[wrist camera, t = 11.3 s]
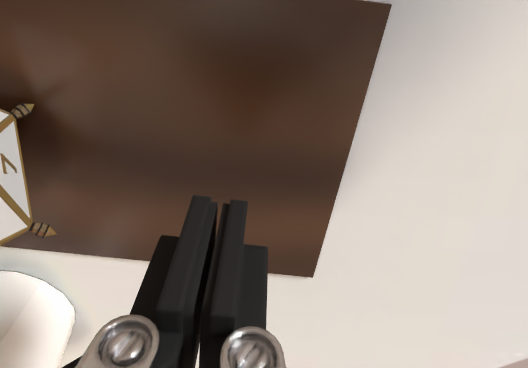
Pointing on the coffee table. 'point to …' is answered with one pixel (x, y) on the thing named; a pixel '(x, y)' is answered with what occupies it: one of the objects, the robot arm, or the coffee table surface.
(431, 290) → the coffee table surface
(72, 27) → the plate
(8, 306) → the foam cup
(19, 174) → the game die
